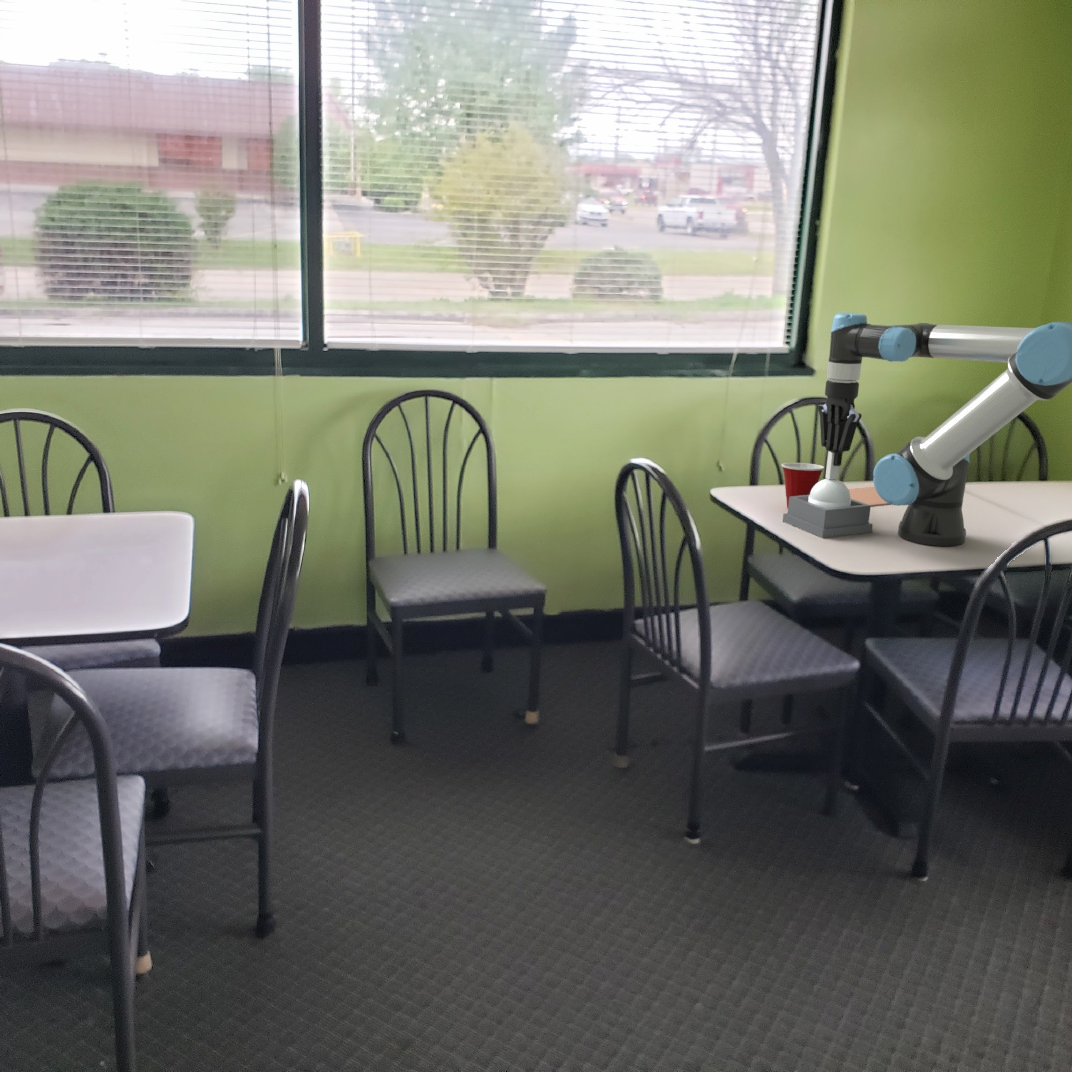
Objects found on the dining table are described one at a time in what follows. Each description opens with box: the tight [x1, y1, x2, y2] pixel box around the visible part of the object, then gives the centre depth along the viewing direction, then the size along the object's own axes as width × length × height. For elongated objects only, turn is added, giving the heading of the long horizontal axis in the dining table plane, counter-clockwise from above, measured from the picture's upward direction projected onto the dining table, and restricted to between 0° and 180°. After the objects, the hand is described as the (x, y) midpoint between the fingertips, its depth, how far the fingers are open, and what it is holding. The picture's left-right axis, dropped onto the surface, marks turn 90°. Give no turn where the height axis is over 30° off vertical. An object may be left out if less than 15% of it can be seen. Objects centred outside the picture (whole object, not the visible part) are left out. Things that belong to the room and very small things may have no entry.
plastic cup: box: [781, 462, 825, 509], centre depth 265 cm, size 11×11×12 cm
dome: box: [808, 478, 851, 509], centre depth 249 cm, size 10×10×10 cm
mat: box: [848, 486, 890, 507], centre depth 281 cm, size 16×16×1 cm
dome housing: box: [782, 495, 873, 539], centre depth 250 cm, size 15×15×6 cm
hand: (831, 477), depth 247 cm, fingers closed
